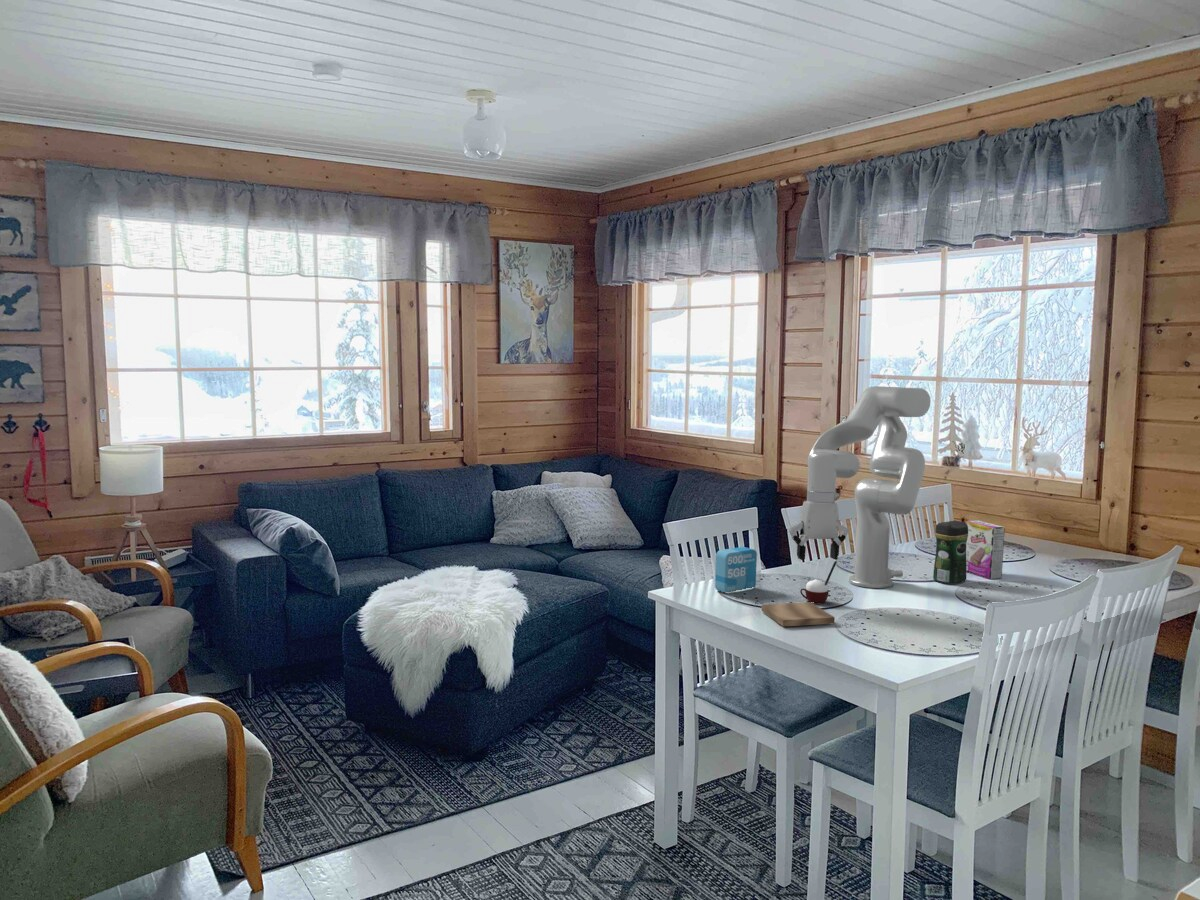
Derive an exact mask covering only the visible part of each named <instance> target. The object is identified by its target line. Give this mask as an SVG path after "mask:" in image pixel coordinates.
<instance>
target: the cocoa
mask: <svg viewBox="0 0 1200 900" xmlns="http://www.w3.org/2000/svg"><path fill="white" fill-rule="evenodd" d="M837 563H838V562H837V560H834V562H833V564H832V566H831V568H830V570H829V573H828V576H827V577H826V580H825V582H824V581H822V580H819V579H812V580H810V581H807V583H806V585H805V588H801V589H800V595H801V596H802V597H803V599H806V600H808V601H807V602H809V601H810V602H814V603H822V604H824V603H826V602H827V600H828V597H829V591H830V590H829V588H830V587H829V585H828V583H829V581H830V578H831V576H832V574H833V571H834V569H835V567H836V565H837ZM803 591H804V592H805V593H803ZM823 602H824V603H823ZM814 603H813V604H814Z"/></svg>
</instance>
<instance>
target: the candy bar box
mask: <svg viewBox="0 0 1200 900" xmlns="http://www.w3.org/2000/svg"><path fill="white" fill-rule="evenodd" d="M966 524H967V525H968V538H967V544H966V571H967V572H966V573H969V572H970V573H969V574H972V573H973V574H972V575H976V576H979V577H981V576H982V578H984V577H985V579H988V580H998V579H997V578H999V579H1002V577H1003V561H1004V549H1005V548H1004V547H1005V545H1004V544H1005V531H1006V529H1005V528H1006V527H1005V526H1002V525H998V524H995V523H990V522H988V521H987V522H986V521H983V520H978V519H977V520H968V521H966Z"/></svg>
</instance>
